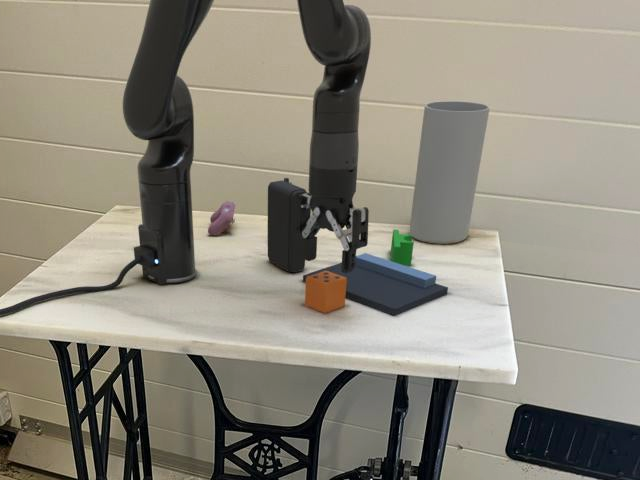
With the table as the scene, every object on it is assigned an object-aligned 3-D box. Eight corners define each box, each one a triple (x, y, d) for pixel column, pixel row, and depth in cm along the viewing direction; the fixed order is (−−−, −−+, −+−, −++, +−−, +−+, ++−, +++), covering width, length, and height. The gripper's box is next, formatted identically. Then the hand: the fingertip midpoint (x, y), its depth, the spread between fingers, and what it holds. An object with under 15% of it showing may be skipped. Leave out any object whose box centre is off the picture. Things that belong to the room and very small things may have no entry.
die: (325, 313, 125) (326, 284, 122) (304, 305, 128) (305, 276, 125) (345, 305, 127) (347, 277, 124) (324, 298, 130) (325, 269, 127)
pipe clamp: (411, 271, 141) (414, 247, 139) (391, 270, 142) (394, 247, 139) (408, 252, 150) (411, 229, 147) (390, 251, 150) (393, 228, 148)
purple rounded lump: (224, 243, 160) (238, 213, 156) (205, 233, 158) (219, 203, 155) (226, 230, 167) (240, 201, 164) (208, 220, 166) (221, 191, 162)
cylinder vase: (429, 224, 166) (447, 99, 151) (478, 235, 159) (501, 106, 144) (397, 236, 159) (412, 106, 144) (446, 248, 152) (468, 113, 137)
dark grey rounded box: (308, 271, 141) (311, 189, 132) (290, 275, 140) (293, 192, 130) (282, 258, 147) (284, 178, 138) (265, 261, 146) (266, 181, 137)
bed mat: (393, 315, 124) (395, 299, 122) (302, 281, 137) (303, 266, 135) (447, 293, 132) (449, 278, 130) (356, 263, 145) (357, 249, 143)
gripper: (284, 158, 116) (283, 261, 125) (351, 173, 107) (344, 282, 117) (317, 151, 120) (314, 251, 129) (384, 165, 111) (375, 271, 121)
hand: (328, 265), depth 123 cm, fingers open, 8 cm apart
